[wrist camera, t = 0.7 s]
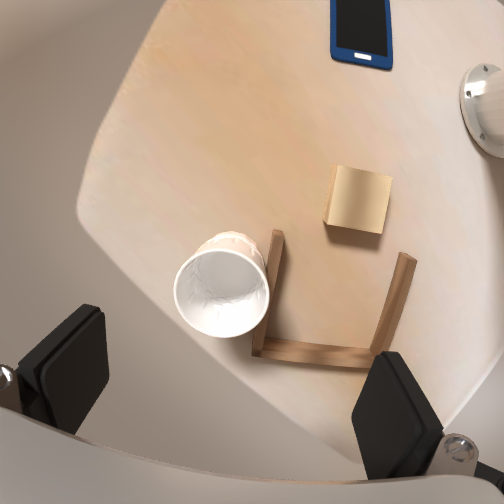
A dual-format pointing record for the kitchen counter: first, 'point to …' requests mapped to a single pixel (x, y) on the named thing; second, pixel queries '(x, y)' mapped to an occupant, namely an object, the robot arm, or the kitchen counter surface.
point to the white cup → (223, 286)
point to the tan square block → (357, 199)
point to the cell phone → (361, 32)
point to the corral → (327, 352)
